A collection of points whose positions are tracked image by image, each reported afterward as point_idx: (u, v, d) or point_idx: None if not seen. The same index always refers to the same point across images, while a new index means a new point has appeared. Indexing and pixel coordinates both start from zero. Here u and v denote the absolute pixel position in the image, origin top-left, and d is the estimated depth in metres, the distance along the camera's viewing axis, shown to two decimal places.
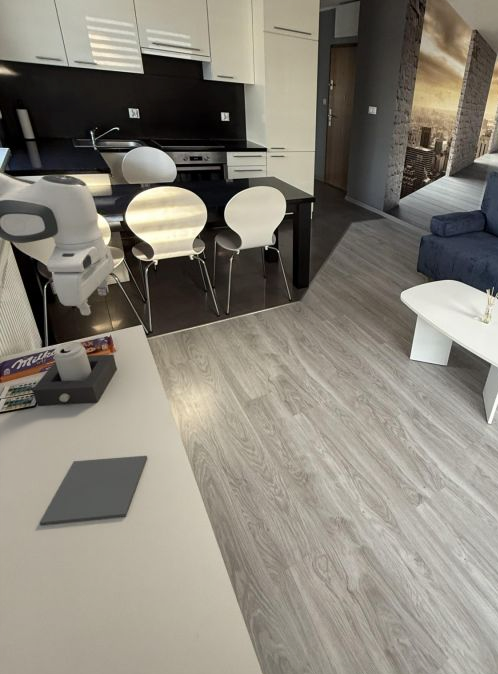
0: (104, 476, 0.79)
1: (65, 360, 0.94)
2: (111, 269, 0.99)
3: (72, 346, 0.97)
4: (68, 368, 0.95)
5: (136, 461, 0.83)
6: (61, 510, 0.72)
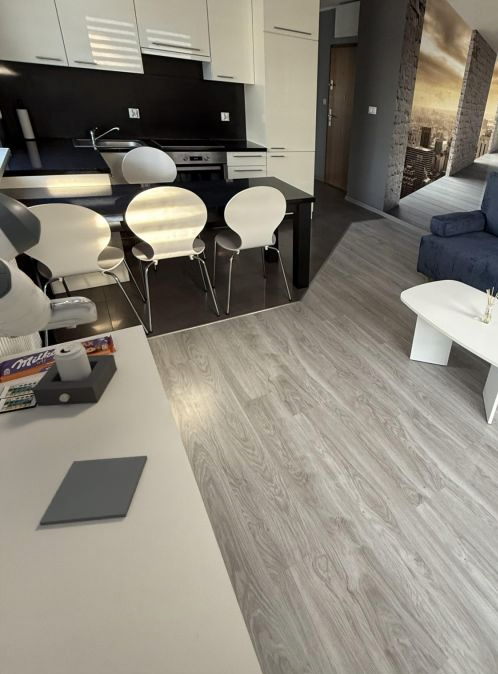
0: (104, 476, 0.79)
1: (65, 360, 0.94)
2: (83, 323, 0.79)
3: (72, 346, 0.97)
4: (68, 368, 0.95)
5: (136, 461, 0.83)
6: (61, 510, 0.72)
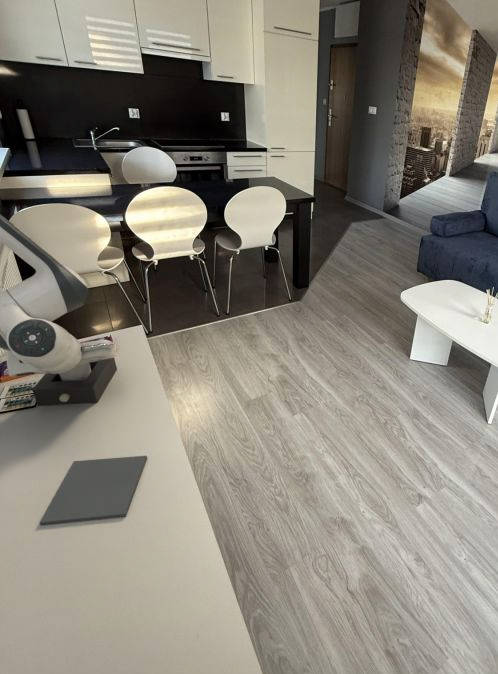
0: (104, 476, 0.79)
1: None
2: None
3: None
4: None
5: (136, 461, 0.83)
6: (61, 510, 0.72)
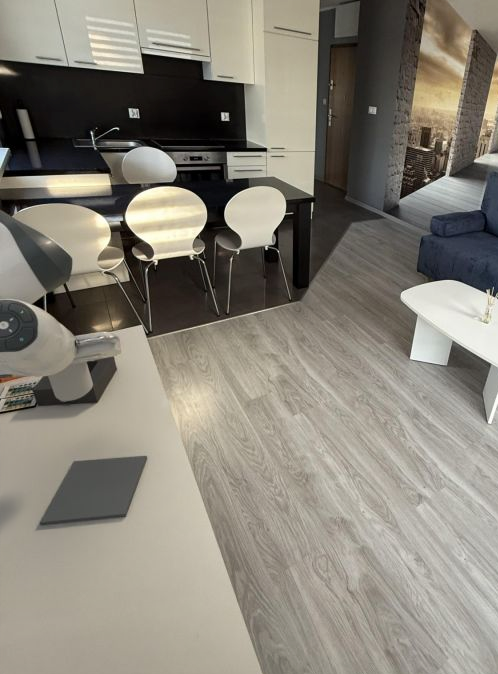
0: (104, 476, 0.79)
1: None
2: (106, 357, 0.76)
3: None
4: None
5: (136, 461, 0.83)
6: (61, 510, 0.72)
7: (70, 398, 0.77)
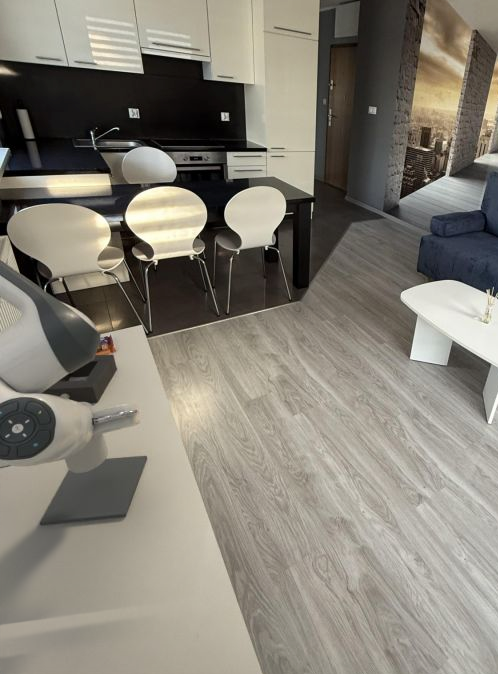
0: (104, 476, 0.79)
1: None
2: None
3: None
4: None
5: (136, 461, 0.83)
6: (61, 510, 0.72)
7: (84, 470, 0.71)
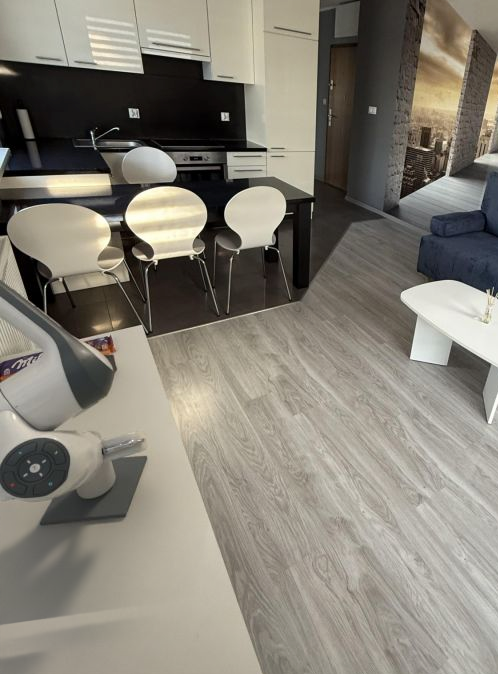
0: None
1: None
2: None
3: None
4: None
5: (136, 461, 0.83)
6: (61, 510, 0.72)
7: (93, 496, 0.74)
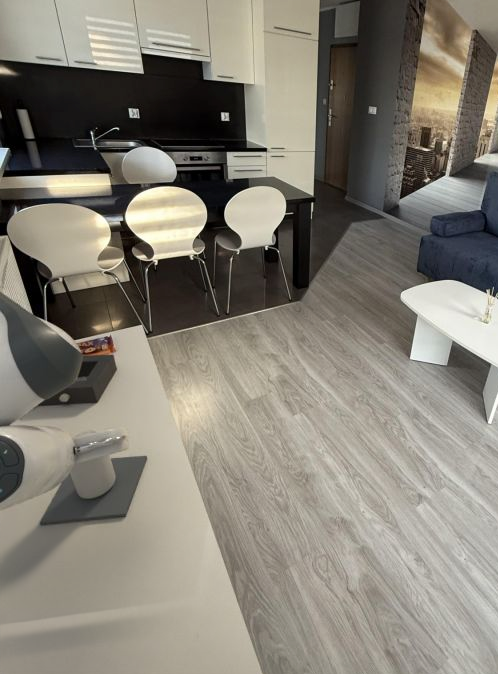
0: None
1: None
2: None
3: None
4: (84, 470, 0.71)
5: (136, 461, 0.83)
6: (61, 510, 0.72)
7: (93, 496, 0.74)
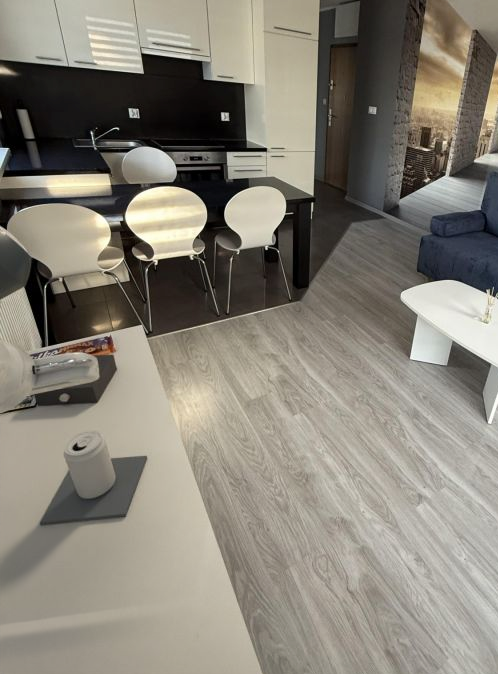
0: None
1: (79, 462, 0.70)
2: (79, 384, 0.58)
3: (88, 438, 0.73)
4: (84, 470, 0.71)
5: (136, 461, 0.83)
6: (61, 510, 0.72)
7: (93, 496, 0.74)
